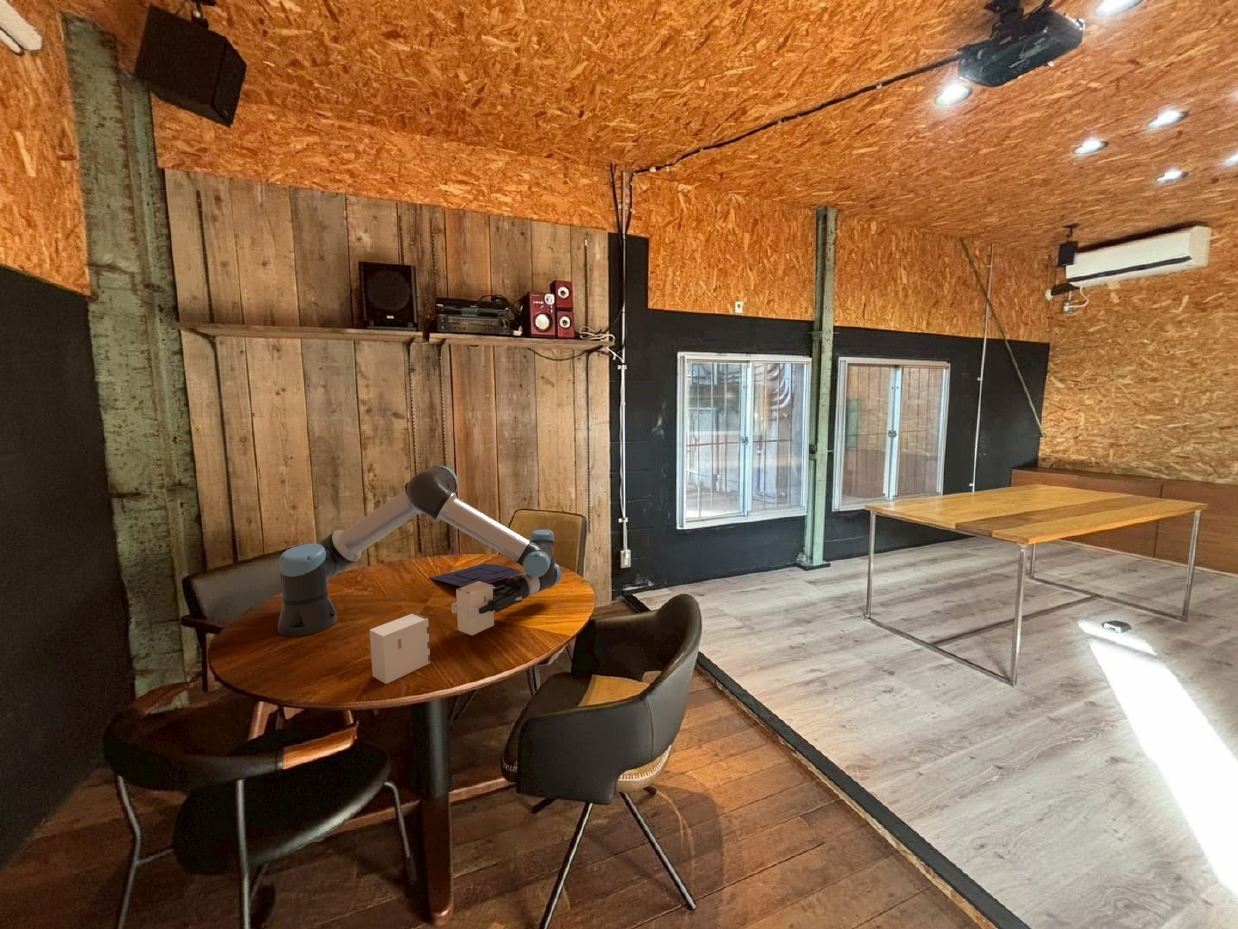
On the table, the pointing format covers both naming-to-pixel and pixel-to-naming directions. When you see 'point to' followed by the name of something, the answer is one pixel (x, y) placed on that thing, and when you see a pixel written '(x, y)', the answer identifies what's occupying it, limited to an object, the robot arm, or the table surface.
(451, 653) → the table surface
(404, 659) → the white slotted block
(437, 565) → the table surface
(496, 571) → the navy flat slab
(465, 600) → the stub
